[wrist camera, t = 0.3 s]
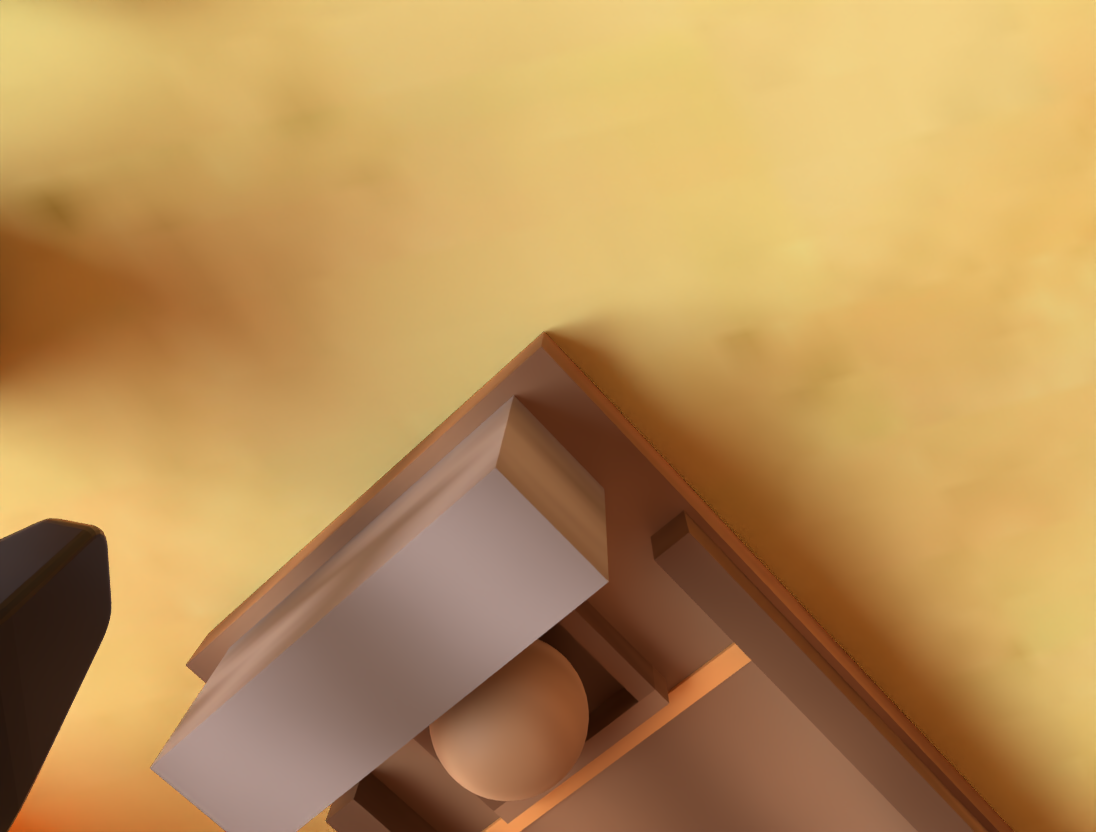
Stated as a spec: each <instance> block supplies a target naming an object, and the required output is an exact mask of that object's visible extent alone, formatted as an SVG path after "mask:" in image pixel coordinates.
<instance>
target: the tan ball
mask: <svg viewBox="0 0 1096 832" xmlns="http://www.w3.org/2000/svg"><path fill="white" fill-rule="evenodd" d="M588 723H589V710H588V702H587V696H586V693H585V690H584V687H583V684H582V682H581V680H580V678H579V675H578V674H577V672H576V671H575V669H574V668H573V666H572V665H571V663H570V662H569V661H568V660H567V659H566V658H565V657H564V656H563V655H562V654H561V653H560V652H559V651H558V650H556V649H555V648H553V647H552V646H550V645H549V644H547V643H545V642H543V641H541V640H539V639H537V640H535V641H534V642H533V643H532V644H530V645H529V646H528V647H527V648H525V649H524V650H523V651H522V652H520V653H519V654H518V655H517V656H515V657H514V658H513V659H512V660H510V661H509V662H508V663H507V664H505V665H504V666H503V667H502V668H500V669H499V670H498V671H497V672H495V673H494V674H493V675H492V676H490V677H489V678H488V679H487V680H485V681H484V682H483V683H482V684H480V685H479V686H478V687H477V688H475V689H474V690H473V691H472V692H470V693H469V694H468V695H467V696H465V697H464V698H463V699H462V700H460V701H459V702H458V703H457V704H455V705H454V706H453V707H452V708H450V709H449V710H448V711H447V712H445V713H444V714H443V715H442V716H440V717H439V718H438V719H437V720H435V721H434V722H433V723H432V724H430V725H429V729H430V735H431V740H432V743H433V747H434V749H435V752H436V754H437V756H438V758H439V760H440V762H441V763H442V765H443V767H444V768H445V769H446V771H447V772H448V773H449V775H450V776H451V777H452V778H453V779H454V780H455V781H457V782H458V783H459V784H460V785H461V786H463V787H464V788H466V789H467V790H469V791H470V792H472V793H474V794H476V795H479V796H481V797H484V798H487V799H492V800H498V801H519V800H524V799H529V798H531V797H534V796H537V795H539V794H541V793H543V792H545V791H547V790H549V789H550V788H552V787H553V786H555V785H556V784H557V783H558V782H560V781H561V780H562V779H563V778H564V777H565V776H566V775H567V773H568V772H569V771H570V770H571V769H572V767H573V766H574V764H575V763H576V761H577V759H578V758H579V756H580V754H581V751H582V749H583V746H584V743H585V740H586V736H587V731H588Z"/></svg>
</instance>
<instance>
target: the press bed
mask: <svg viewBox="0 0 1096 832" xmlns="http://www.w3.org/2000/svg"><path fill="white" fill-rule="evenodd" d="M537 639H539V640H541V641H543V642H545V643H547V644H549V645H550V646H552V647H553V648H555V649H556V650H558V651H559V652H560V653H561V654H562V655H563V656H564V657H565V658H566V659H567V660H568V661H569V662H570V663H571V665H572V666H573V668H574V669H575V671H576V672H577V674H578V675H579V678H580V680H581V682H582V684H583V687H584V690H585V693H586V696H587V702H588V710H589V723H588V731H587V736H586V740H585V743H584V746H583V749H582V751H581V754H580V756H579V758H578V759H577V761H576V763H575V764H574V766H573V767H572V769H571V770H570V771H569V772H568V773H567V775H566V776H565V777H564V778H563V779H562V780H561V781H560V782H558V783H557V784H556V785H555V786H553V787H552V788H550V789H549V790H547V791H545V792H543V793H541V794H539V795H537V796H534V797H531V798H529V799H524V800H519V801H498V800H492V799H487V798H484V797H481V796H479V795H476V794H474V793H472V792H470V791H469V790H467V789H466V788H464V787H463V786H461V785H460V784H459V783H458V782H457V781H455V780H454V779H453V778H452V777H451V776H450V775H449V773H448V772H447V771H446V769H445V768H444V767H443V765H442V763H441V762H440V760H439V758H438V756H437V754H436V752H435V749H434V747H433V743H432V740H431V735H430V729H429V725H430V724H432V723H433V722H434V721H435V720H437V719H438V718H439V717H440V716H442V715H443V714H444V713H445V712H447V711H448V710H449V709H450V708H452V707H453V706H454V705H455V704H457V703H458V702H459V701H460V700H462V699H463V698H464V697H465V696H467V695H468V694H469V693H470V692H472V691H473V690H474V689H475V688H477V687H478V686H479V685H480V684H482V683H483V682H484V681H485V680H487V679H488V678H489V677H490V676H492V675H493V674H494V673H495V672H497V671H498V670H499V669H500V668H502V667H503V666H504V665H505V664H507V663H508V662H509V661H510V660H512V659H513V658H514V657H515V656H517V655H518V654H519V653H520V652H522V651H523V650H524V649H525V648H527V647H528V646H529V645H530V644H532V643H533V642H534V641H535V640H537ZM186 666H187V667H188V668H189V669H190V670H192V671H193V672H194V673H195V674H196V675H197V676H198V677H200V678H201V679H202V680H203V681H204V682H205V683H206V684H205V686H204V687H203V689H202V690H201V692H200V693H199V695H198V696H197V698H196V699H195V701H194V702H193V704H192V705H191V707H190V708H189V710H188V711H187V713H186V714H185V716H184V717H183V719H182V720H181V722H180V723H179V725H178V726H177V728H176V729H175V731H174V732H173V734H172V735H171V737H170V738H169V740H168V741H167V743H166V744H165V746H164V747H163V749H162V750H161V752H160V753H159V755H158V756H157V758H156V759H155V761H154V762H153V764H152V765H151V767H150V769H151V770H153V771H154V772H155V773H156V774H157V775H159V776H160V777H161V778H162V779H163V780H165V781H166V782H167V783H168V784H169V785H171V786H172V787H173V788H174V789H175V790H177V791H178V792H179V793H180V794H181V795H183V796H184V797H185V798H186V799H187V800H189V801H190V802H191V803H192V804H193V805H195V806H196V807H197V808H198V809H199V810H201V811H202V812H203V813H204V814H205V815H207V816H208V817H209V818H210V819H211V820H213V821H214V822H215V823H216V824H218V825H219V826H220V827H221V828H222V829H224V830H225V831H226V832H297V831H298V830H299V829H300V828H302V827H303V826H304V825H305V824H307V823H308V822H309V821H310V820H312V819H313V818H314V817H315V816H317V815H318V814H319V813H320V812H322V811H323V810H324V809H325V808H327V807H328V806H329V805H330V804H332V805H331V808H330V810H329V813H328V816H327V819H326V822H327V823H328V824H329V825H330V826H331V827H333V828H334V829H335V830H336V831H337V832H1014V831H1013V830H1012V829H1011V828H1010V827H1009V826H1008V825H1007V824H1006V823H1005V822H1004V821H1003V819H1002V818H1001V817H1000V816H999V815H998V814H997V813H996V812H995V811H994V810H993V809H992V808H991V807H990V806H989V805H988V803H987V802H986V801H985V800H984V799H983V798H982V797H981V796H980V795H979V794H978V793H977V792H976V791H975V790H974V789H973V787H972V786H971V785H970V784H969V783H968V782H967V781H966V780H965V779H964V778H963V777H962V776H961V775H960V774H959V773H958V772H957V770H956V769H955V768H954V767H953V766H952V765H951V764H950V763H949V762H948V761H947V760H946V759H945V758H944V757H943V756H942V754H941V753H940V752H939V751H938V750H937V749H936V748H935V747H934V746H933V745H932V744H931V743H930V742H929V741H928V740H927V739H926V737H925V736H924V735H923V734H922V733H921V732H920V731H919V730H918V729H917V728H916V727H915V726H914V725H913V724H912V723H911V721H910V720H909V719H908V718H907V717H906V716H905V715H904V714H903V713H902V712H901V711H900V710H899V709H898V708H897V707H896V705H895V704H894V703H893V702H892V701H891V700H890V699H889V698H888V697H887V696H886V695H885V694H884V693H883V692H882V691H881V690H880V688H879V687H878V686H877V685H876V684H875V683H874V682H873V681H872V680H871V679H870V678H869V677H868V676H867V675H866V674H865V672H864V671H863V670H862V669H861V668H860V667H859V666H858V665H857V664H856V663H855V662H854V661H853V660H852V659H851V658H850V657H849V655H848V654H847V653H846V652H845V651H844V650H843V649H842V648H841V647H840V646H839V645H838V644H837V643H836V642H835V641H834V639H833V638H832V637H831V636H830V635H829V634H828V633H827V632H826V631H825V630H824V629H823V628H822V627H821V626H820V625H819V623H818V622H817V621H816V620H815V619H814V618H813V617H812V616H811V615H810V614H809V613H808V612H807V611H806V610H805V609H804V608H803V606H802V605H801V604H800V603H799V602H798V601H797V600H796V599H795V598H794V597H793V596H792V595H791V594H790V593H789V592H788V590H787V589H786V588H785V587H784V586H783V585H782V584H781V583H780V582H779V581H778V580H777V579H776V578H775V577H774V576H773V575H772V573H771V572H770V571H769V570H768V569H767V568H766V567H765V566H764V565H763V564H762V563H761V562H760V561H759V560H758V559H757V557H756V556H755V555H754V554H753V553H752V552H751V551H750V550H749V549H748V548H747V547H746V546H745V545H744V544H743V543H742V542H741V540H740V539H739V538H738V537H737V536H736V535H735V534H734V533H733V532H732V531H731V530H730V529H729V528H728V527H727V526H726V524H725V523H724V522H723V521H722V520H721V519H720V518H719V517H718V516H717V515H716V514H715V513H714V512H713V511H712V510H711V508H710V507H709V506H708V505H707V504H706V503H705V502H704V501H703V500H702V499H701V498H700V497H699V496H698V495H697V494H696V493H695V491H694V490H693V489H692V488H691V487H690V486H689V485H688V484H687V483H686V482H685V481H684V480H683V479H682V478H681V477H680V475H679V474H678V473H677V472H676V471H675V470H674V469H673V468H672V467H671V466H670V465H669V464H668V463H667V462H666V461H665V460H664V458H663V457H662V456H661V455H660V454H659V453H658V452H657V451H656V450H655V449H654V448H653V447H652V446H651V445H650V444H649V442H648V441H647V440H646V439H645V438H644V437H643V436H642V435H641V434H640V433H639V432H638V431H637V430H636V429H635V428H634V426H633V425H632V424H631V423H630V422H629V421H628V420H627V419H626V418H625V417H624V416H623V415H622V414H621V413H620V412H619V411H618V409H617V408H616V407H615V406H614V405H613V404H612V403H611V402H610V401H609V400H608V399H607V398H606V397H605V396H604V395H603V393H602V392H601V391H600V390H599V389H598V388H597V387H596V386H595V385H594V384H593V383H592V382H591V381H590V380H589V379H588V378H587V376H586V375H585V374H584V373H583V372H582V371H581V370H580V369H579V368H578V367H577V366H576V365H575V364H574V363H573V362H572V360H571V359H570V358H569V357H568V356H567V355H566V354H565V353H564V352H563V351H562V350H561V349H560V348H559V347H558V346H557V344H556V343H555V342H554V341H553V340H552V339H551V338H550V337H549V336H548V335H547V334H546V333H545V332H543V333H542V334H541V335H539V336H538V337H537V338H536V339H535V340H534V341H533V342H532V343H531V344H529V345H528V346H527V347H526V348H525V349H524V350H523V351H522V352H521V353H520V354H518V355H517V356H516V357H515V358H514V359H513V360H512V361H511V362H510V363H508V364H507V365H506V366H505V367H504V368H503V369H502V370H501V371H500V372H498V373H497V374H496V375H495V376H494V377H493V378H492V379H491V380H490V381H488V382H487V383H486V384H485V385H484V386H483V387H482V388H481V389H480V390H478V391H477V392H476V393H475V394H474V395H473V396H472V397H471V398H470V399H468V400H467V401H466V402H465V403H464V404H463V405H462V406H461V407H460V408H458V409H457V410H456V411H455V412H454V413H453V414H452V415H451V416H450V417H448V418H447V419H446V420H445V421H444V422H443V423H442V424H441V425H440V426H438V427H437V428H436V429H435V430H434V431H433V432H432V433H431V434H430V435H428V436H427V437H426V438H425V439H424V440H423V441H422V442H421V443H420V444H418V445H417V446H416V447H415V448H414V449H413V450H412V451H411V452H410V453H408V454H407V455H406V456H405V457H404V458H403V459H402V460H401V461H400V462H398V463H397V464H396V465H395V466H394V467H393V468H392V469H391V470H390V471H388V472H387V473H386V474H385V475H384V476H383V477H382V478H381V479H380V480H379V481H377V482H376V483H375V484H374V485H373V486H372V487H371V488H370V489H369V490H367V491H366V492H365V493H364V494H363V495H362V496H361V497H360V498H359V499H357V500H356V501H355V502H354V503H353V504H352V505H351V506H350V507H349V508H347V509H346V510H345V511H344V512H343V513H342V514H341V515H340V516H339V517H337V518H336V519H335V520H334V521H333V522H332V523H331V524H330V525H329V526H327V527H326V528H325V529H324V530H323V531H322V532H321V533H320V534H319V535H317V536H316V537H315V538H314V539H313V540H312V541H311V542H310V543H309V544H307V545H306V546H305V547H304V548H303V549H302V550H301V551H300V552H299V553H297V554H296V555H295V556H294V557H293V558H292V559H291V560H290V561H289V562H287V563H286V564H285V565H284V566H283V567H282V568H281V569H280V570H279V571H277V572H276V573H275V574H274V575H273V576H272V577H271V578H270V579H269V580H267V581H266V582H265V583H264V584H263V585H262V586H261V587H260V588H259V589H257V590H256V591H255V592H254V593H253V594H252V595H251V596H250V597H249V598H248V599H246V600H245V601H244V602H243V603H242V604H241V605H240V606H239V607H238V608H236V609H235V610H234V611H233V612H232V613H231V614H230V615H229V616H228V617H226V618H225V619H224V620H223V621H222V622H221V623H220V624H219V625H218V626H216V627H215V628H214V629H213V630H212V631H211V632H210V633H209V634H208V635H207V636H206V638H205V639H204V641H203V642H202V643H201V645H200V646H199V647H198V649H197V650H196V652H195V653H194V654H193V656H192V657H191V659H190V660H189V661H188V663H187V664H186Z"/></svg>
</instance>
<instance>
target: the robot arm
mask: <svg viewBox="0 0 1096 832" xmlns="http://www.w3.org/2000/svg"><path fill="white" fill-rule="evenodd" d="M110 615H111V590H110V576H109V561H108V547H107V541H106V537H105V535H104V532H103V531H102V530H101V529H99V528H98V527H96V526H93V525H88V524H83V523H78V522H73V521H68V520H62V519H52V518H50V519H45V520H42V521H39V522H37V523H35V524H33V525H30V526H28V527H26V528H24V529H22V530H20V531H17V532H15V533H13V534H11V535H9V536H7V537H4V538H2V539H0V832H8V831H9V829H10V827H11V825H12V824H13V822H14V820H15V819H16V817H17V815H18V813H19V812H20V810H21V808H22V806H23V804H24V802H25V800H26V798H27V796H28V794H29V792H30V790H31V788H32V786H33V784H34V782H35V780H36V778H37V776H38V774H39V772H40V770H41V768H42V766H43V763H44V761H45V759H46V757H47V755H48V753H49V751H50V749H51V747H52V745H53V743H54V740H55V738H56V736H57V734H58V732H59V730H60V728H61V726H62V724H63V722H64V719H65V717H66V715H67V713H68V711H69V709H70V707H71V705H72V703H73V701H74V699H75V696H76V694H77V692H78V690H79V688H80V686H81V684H82V682H83V680H84V678H85V675H86V673H87V671H88V669H89V667H90V665H91V663H92V661H93V659H94V657H95V655H96V652H97V650H98V648H99V646H100V644H101V642H102V640H103V638H104V635H105V633H106V630H107V627H108V624H109V620H110Z"/></svg>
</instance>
